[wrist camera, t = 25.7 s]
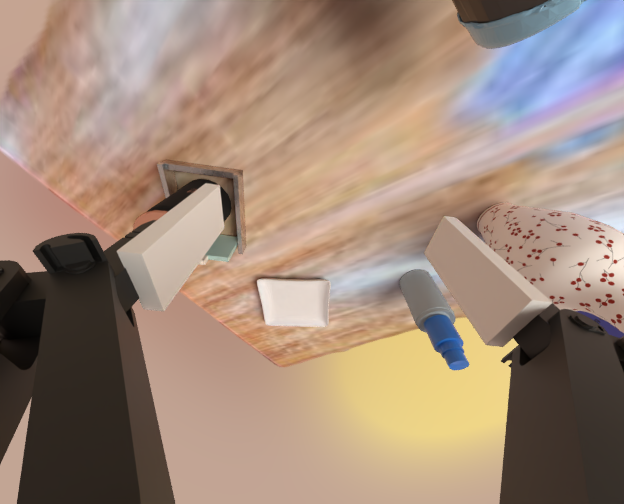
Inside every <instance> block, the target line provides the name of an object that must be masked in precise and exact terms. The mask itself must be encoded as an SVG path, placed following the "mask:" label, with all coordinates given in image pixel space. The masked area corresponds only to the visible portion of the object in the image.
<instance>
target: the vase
mask: <svg viewBox="0 0 624 504" xmlns="http://www.w3.org/2000/svg"><path fill="white" fill-rule="evenodd" d="M477 229H478V230H479V232H480V233H481V234H482V236H483V239H484V241H485V244H487V245H488V246H489V247H490V248H491V249H492V250H493V251H495V252H496V253H497V254H498V255H499V256H500V257H501V258H503V259H504V260H505V261H506V262H507V263H508V264H509V265H510V266H512V267H513V268H514V269H515V270H516V271H517V272H518V273H520V274H521V275H522V276H523V277H524V278H525V279H526V280H528V281H529V282H530V283H531V284H532V285H533V286H534V287H536V288H537V289H538V290H539V291H540V292H541V293H542V294H544V295H545V296H546V297H547V298H548V299H549V300H550V301H552V302H553V304H554V305H555V306H556V307H557V308H559V309H560V310H561V309H569V310H573V311H584V312H588V313H591V314H593V315H595V316H597V317H599V318H601V319H603V320H605V321H607V322H609V323H610V324H611V325H613V326H614V327H616V328H617V329H618V330H620V331H621V332H623V333H624V233H622V232H620V231H618V230H616V229H615V228H613V227H611V226H609V225H606V224H603V223H601V222H598V221H595V220H592V219H589V218H586V217H583V216H581V215H578V214H575V213H571V212H563V211H555V210H547V209H540V208H532V207H524V206H517V205H512V204H510V203H499V204H496V205H493V206H491V207H490V208H488V209H486V210H485V211H484V212H483V213H482V214H481V215H480V217H479V219H478V221H477Z"/></svg>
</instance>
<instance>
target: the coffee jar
mask: <svg viewBox="0 0 624 504" xmlns="http://www.w3.org/2000/svg"><path fill="white" fill-rule="evenodd" d="M205 183H208V184H215V185H218V184H216V183H215V182H212V181H210V180H204V179H198V180H193V181H192V182H190V183H189V184H187V185H185V186H184V187H182V188H181V189H179V190H178V191H176V192H175V193H173V194H172V195H170V196H169V197H167V198H166V199H164V200H163V201H161V202H160V203H158V204H157V205H155V206H154V207H152V208H151V209H150V210H148V211H147V212H146V213H144V214H142V215H141V216H139V217H138V218H137V219H136V221H135V223H134V225H133V230H134V229H136V228H137V227H139V226H140V225H142V224H144V223H147V222H149V221H152V220H158V219H159V218H161V217H162V216H163V215H165V214H166V213H167V212H169V211H170V210H171V209H172V208H174V207H175V206H176V205H178V204H179V203H180V202H182V201H183V200H184V199H186V198H187V197H188V196H190V195H191V194H192V193H194V192H195V191H196V190H197V189H199V188H200V187H201V186H203V185H204V184H205ZM220 192H221V201H222V211H223V220H224V221H225V220H226V219H227V217H228V216H229V215H230V212H231V201H230V199H229V196H228V194H227V193H226V192H225V190H224V189H223V188H222V187H221V186H220Z"/></svg>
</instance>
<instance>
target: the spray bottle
mask: <svg viewBox="0 0 624 504" xmlns="http://www.w3.org/2000/svg"><path fill="white" fill-rule="evenodd" d="M399 285H400V288H401V290H402V293H403V295H404V297H405V300H406V302H407V304H408V307H409V309H410V311H411V314H412V316H413V318H414V321H415V323H416V325H417V326H418V328H419V329H420V330H421V331H423V332H427V334H428V336H429V338H430V340H431V343H432V345H433V347H434V349H435V350H436V351H437V352H439V353H441V355H442V357H443V358H445V360H446V362H447V364H448V366H449V367H450V369H452V370H461V369H464V368H466V367H468V366H469V362H468V361H467V359H466V357H465V355H464V350H463V348H462V346H463V341H462V339H461V337H460V335H459V334H458V332H457V330H456V329H455V327H454V325H453V324H454V322H455V316H454V312H453V311H452V309H451V307H450V306H449V304H448V303H447V301H446V300H445V298H444V296H443V295H442V293H441V292H440V290H439V288H438V287H437V285H436V284H435V282H434V280H433V279H432V277H431V276H430V274H429V273H428V272H427V271H425V270H412V271H409V272H407V273H406V274H404V275H403V276H402V277H401V279H400V282H399Z"/></svg>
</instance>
